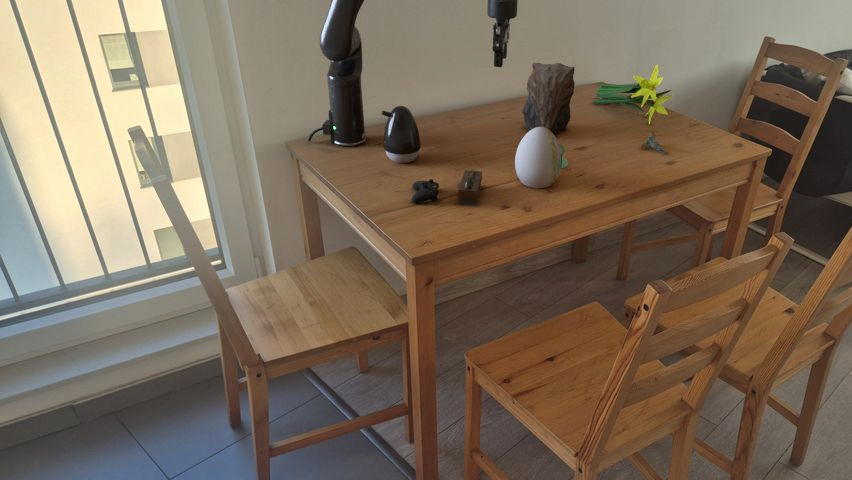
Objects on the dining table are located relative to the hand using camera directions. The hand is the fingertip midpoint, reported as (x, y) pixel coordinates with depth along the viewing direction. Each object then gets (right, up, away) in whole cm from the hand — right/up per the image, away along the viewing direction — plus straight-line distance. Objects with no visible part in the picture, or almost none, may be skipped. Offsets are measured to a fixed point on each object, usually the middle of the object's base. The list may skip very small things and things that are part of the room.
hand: (500, 62), depth 178 cm
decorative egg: (+10, -32, +1) cm, 33 cm away
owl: (+14, -11, +34) cm, 38 cm away
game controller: (-19, -37, -8) cm, 42 cm away
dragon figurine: (+46, -19, +24) cm, 55 cm away
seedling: (+16, -25, +12) cm, 32 cm away
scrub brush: (-8, -36, -7) cm, 37 cm away
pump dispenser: (-27, -24, +11) cm, 38 cm away
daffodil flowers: (+42, -1, +51) cm, 66 cm away
